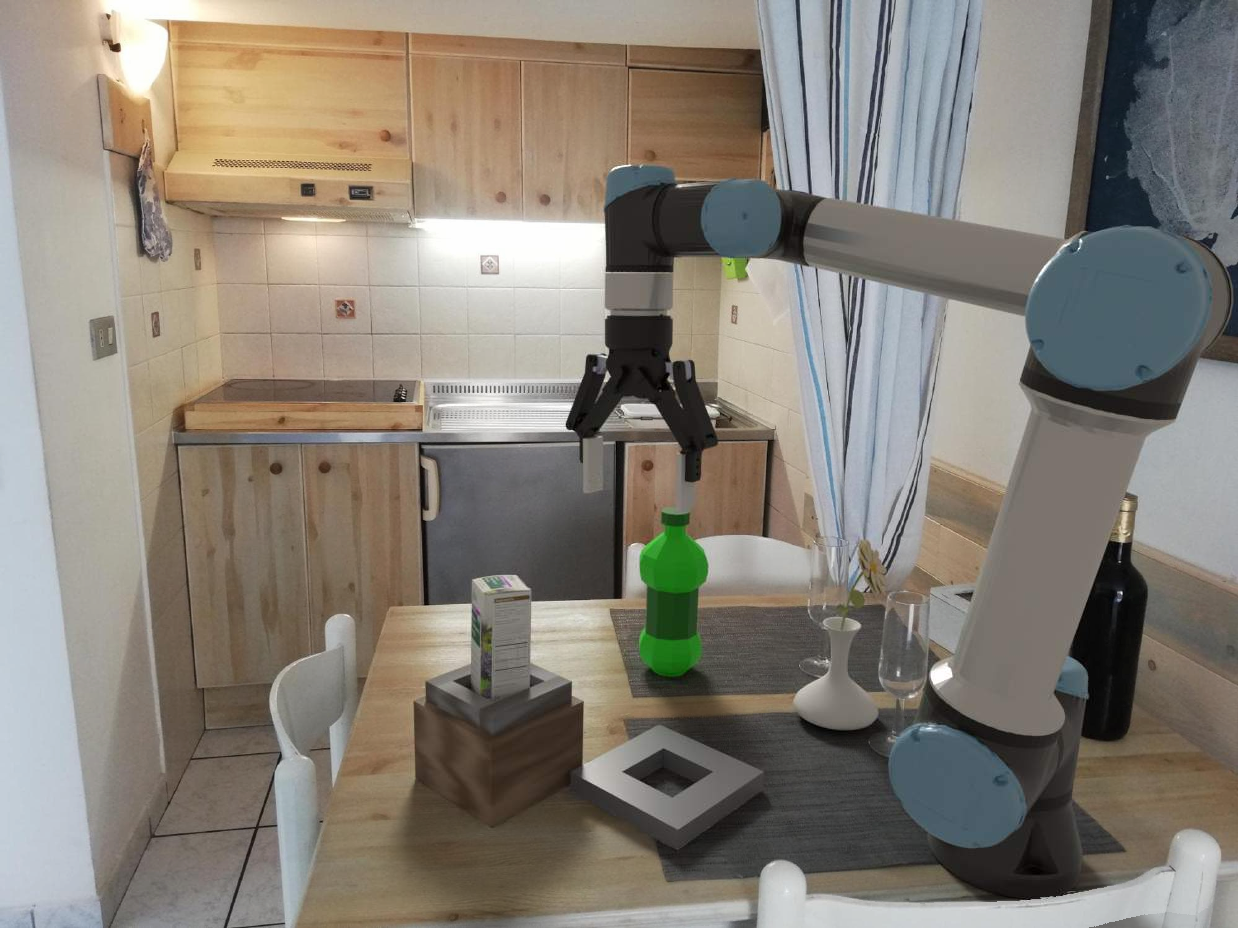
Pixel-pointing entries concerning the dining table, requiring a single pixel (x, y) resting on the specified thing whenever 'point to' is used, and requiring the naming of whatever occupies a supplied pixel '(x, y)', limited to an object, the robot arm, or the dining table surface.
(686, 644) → the plastic bottle
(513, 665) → the syrup box
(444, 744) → the raised socket
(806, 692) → the flower in vase
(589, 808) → the dining table surface
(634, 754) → the low socket block
